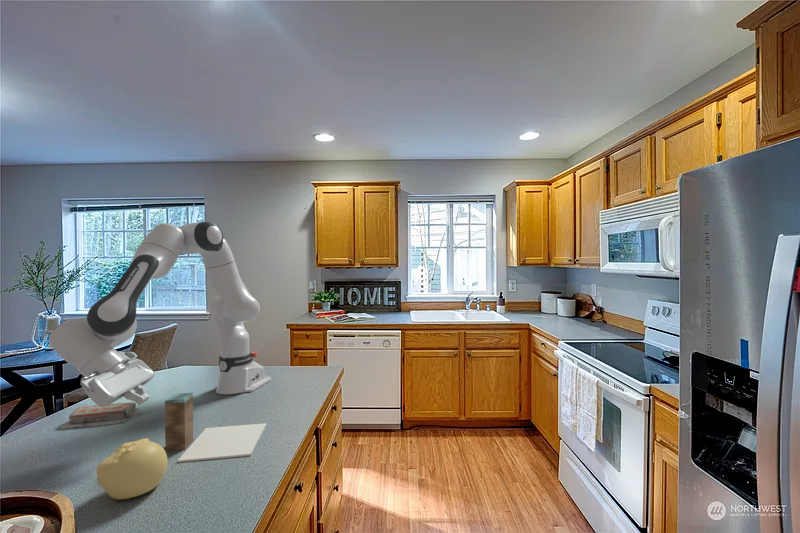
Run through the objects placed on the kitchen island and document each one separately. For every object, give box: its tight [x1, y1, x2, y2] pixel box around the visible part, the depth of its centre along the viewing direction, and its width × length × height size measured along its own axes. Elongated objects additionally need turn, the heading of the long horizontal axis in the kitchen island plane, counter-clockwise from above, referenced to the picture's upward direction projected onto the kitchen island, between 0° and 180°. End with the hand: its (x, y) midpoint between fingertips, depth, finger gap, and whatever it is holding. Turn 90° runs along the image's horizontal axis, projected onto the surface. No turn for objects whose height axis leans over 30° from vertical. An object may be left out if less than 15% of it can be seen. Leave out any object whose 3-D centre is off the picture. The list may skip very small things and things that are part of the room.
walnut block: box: [164, 392, 194, 452], centre depth 97 cm, size 5×5×14 cm
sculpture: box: [95, 438, 169, 500], centre depth 78 cm, size 12×12×11 cm
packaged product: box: [58, 401, 140, 430], centre depth 114 cm, size 18×5×10 cm
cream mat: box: [177, 422, 267, 463], centre depth 99 cm, size 18×18×1 cm
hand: (145, 401), depth 96 cm, fingers closed
